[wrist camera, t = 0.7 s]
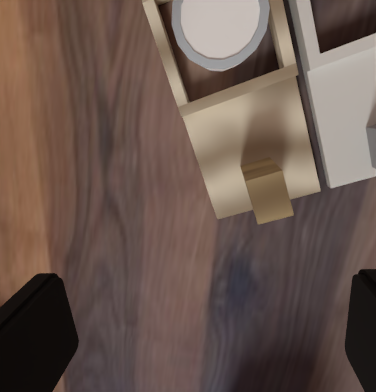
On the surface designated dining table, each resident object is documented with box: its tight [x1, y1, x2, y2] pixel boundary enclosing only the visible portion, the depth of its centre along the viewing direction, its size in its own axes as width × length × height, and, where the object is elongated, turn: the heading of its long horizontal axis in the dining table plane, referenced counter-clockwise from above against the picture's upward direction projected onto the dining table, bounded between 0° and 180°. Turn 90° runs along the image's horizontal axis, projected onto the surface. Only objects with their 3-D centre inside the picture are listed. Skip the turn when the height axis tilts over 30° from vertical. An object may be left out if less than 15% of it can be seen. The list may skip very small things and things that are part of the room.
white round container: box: [172, 0, 270, 71], centre depth 22 cm, size 7×7×7 cm
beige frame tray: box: [142, 0, 321, 224], centre depth 23 cm, size 22×11×7 cm, turn 19°
